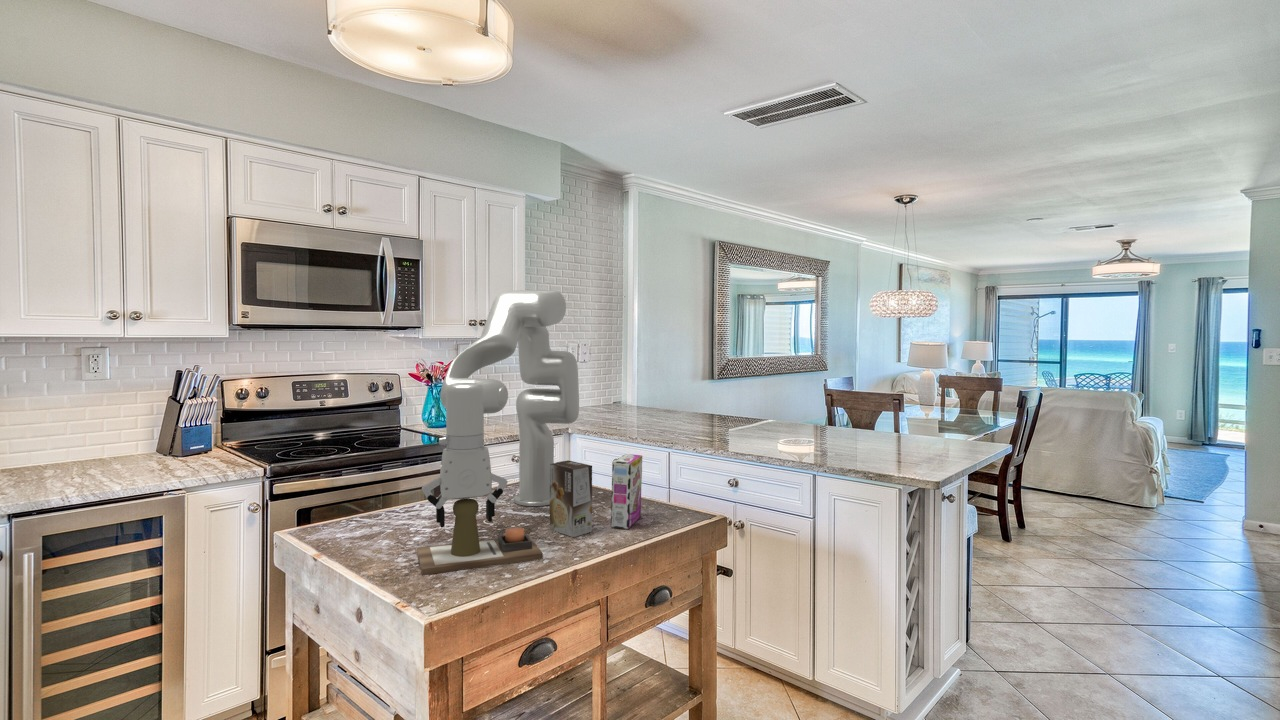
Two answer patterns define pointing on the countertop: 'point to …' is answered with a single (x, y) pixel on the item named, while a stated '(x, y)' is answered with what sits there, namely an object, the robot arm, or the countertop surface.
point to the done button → (514, 534)
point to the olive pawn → (465, 528)
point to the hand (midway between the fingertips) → (465, 522)
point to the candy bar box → (626, 491)
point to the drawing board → (477, 555)
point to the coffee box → (571, 498)
